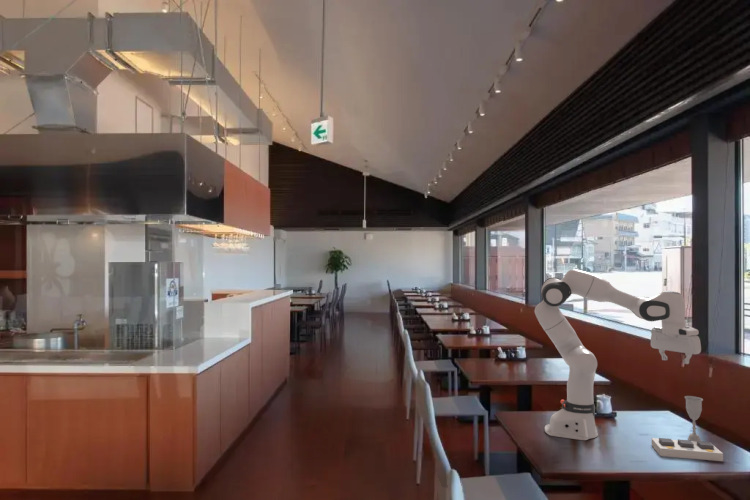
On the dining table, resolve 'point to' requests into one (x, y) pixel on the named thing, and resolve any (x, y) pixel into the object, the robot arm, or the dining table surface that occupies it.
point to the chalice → (693, 414)
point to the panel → (687, 451)
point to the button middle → (685, 443)
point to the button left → (666, 442)
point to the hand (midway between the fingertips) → (675, 361)
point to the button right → (705, 445)
